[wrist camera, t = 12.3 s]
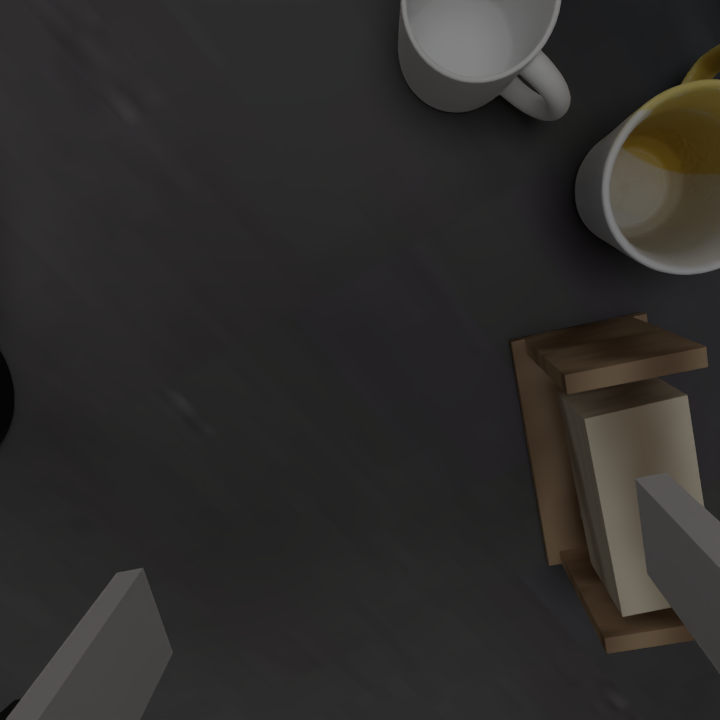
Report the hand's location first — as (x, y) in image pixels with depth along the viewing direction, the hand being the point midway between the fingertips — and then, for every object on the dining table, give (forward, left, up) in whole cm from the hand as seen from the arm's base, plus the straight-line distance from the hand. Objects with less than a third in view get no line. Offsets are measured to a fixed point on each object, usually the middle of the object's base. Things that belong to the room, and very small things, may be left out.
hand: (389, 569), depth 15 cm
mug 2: (+20, +8, -31) cm, 38 cm away
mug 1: (+10, +17, -31) cm, 37 cm away
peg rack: (+14, -12, -31) cm, 36 cm away
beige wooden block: (+14, -12, -26) cm, 32 cm away
